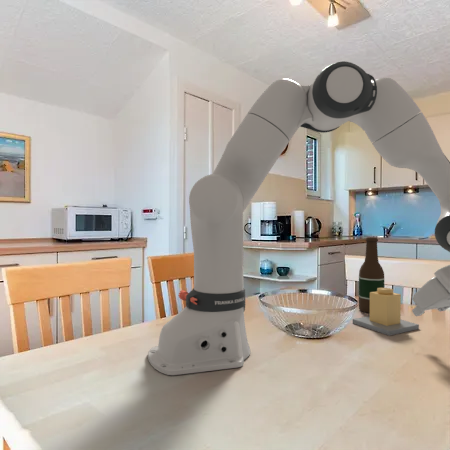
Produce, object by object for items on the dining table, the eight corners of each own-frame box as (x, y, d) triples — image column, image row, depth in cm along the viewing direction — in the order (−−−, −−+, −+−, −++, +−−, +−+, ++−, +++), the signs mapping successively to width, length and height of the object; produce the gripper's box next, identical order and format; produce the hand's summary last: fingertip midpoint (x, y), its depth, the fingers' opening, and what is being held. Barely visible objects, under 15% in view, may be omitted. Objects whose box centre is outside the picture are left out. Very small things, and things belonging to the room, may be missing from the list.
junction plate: (389, 335, 90) (389, 319, 90) (352, 323, 100) (352, 308, 100) (418, 328, 95) (419, 313, 95) (381, 317, 106) (381, 304, 106)
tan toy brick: (386, 325, 94) (387, 291, 94) (369, 320, 99) (369, 288, 99) (400, 323, 97) (400, 289, 96) (382, 317, 102) (383, 286, 101)
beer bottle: (385, 309, 115) (386, 237, 115) (382, 315, 109) (383, 238, 108) (360, 306, 119) (361, 236, 119) (356, 311, 113) (356, 237, 112)
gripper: (485, 264, 85) (443, 296, 94) (433, 269, 75) (392, 304, 84) (506, 285, 81) (461, 317, 90) (455, 294, 71) (409, 328, 80)
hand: (427, 311), depth 87 cm, fingers open, 8 cm apart
